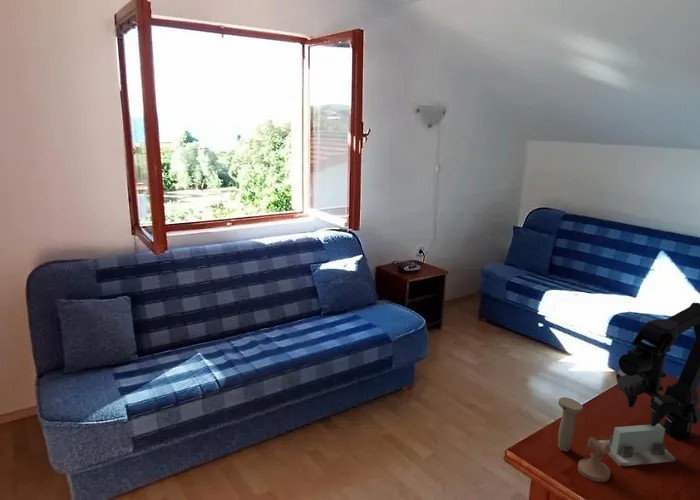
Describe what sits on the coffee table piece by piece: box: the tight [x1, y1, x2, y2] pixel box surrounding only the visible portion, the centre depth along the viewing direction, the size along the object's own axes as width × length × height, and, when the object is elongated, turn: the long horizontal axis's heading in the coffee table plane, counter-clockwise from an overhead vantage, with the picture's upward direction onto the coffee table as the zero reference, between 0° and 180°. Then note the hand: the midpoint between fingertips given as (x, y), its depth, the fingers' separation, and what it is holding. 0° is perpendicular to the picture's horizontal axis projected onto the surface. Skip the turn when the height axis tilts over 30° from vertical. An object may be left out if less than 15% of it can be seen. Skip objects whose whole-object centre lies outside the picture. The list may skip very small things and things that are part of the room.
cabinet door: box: [611, 423, 666, 454], centre depth 148 cm, size 14×2×7 cm, turn 98°
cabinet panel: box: [599, 434, 676, 467], centre depth 149 cm, size 17×10×4 cm, turn 99°
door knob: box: [577, 436, 612, 483], centre depth 140 cm, size 8×10×8 cm
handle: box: [557, 396, 584, 453], centre depth 148 cm, size 5×6×15 cm
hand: (641, 416), depth 148 cm, fingers open, 9 cm apart
